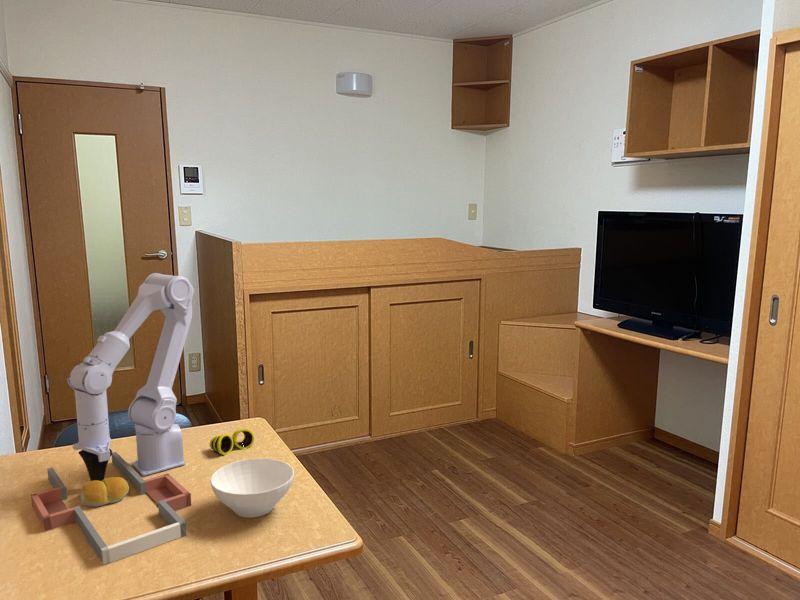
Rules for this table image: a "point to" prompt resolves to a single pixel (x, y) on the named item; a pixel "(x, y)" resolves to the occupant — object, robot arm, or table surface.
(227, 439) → the opera glasses
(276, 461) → the bowl
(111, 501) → the bread roll
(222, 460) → the table surface
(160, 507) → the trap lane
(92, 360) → the robot arm
